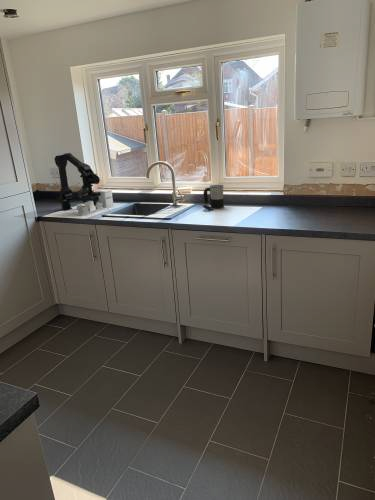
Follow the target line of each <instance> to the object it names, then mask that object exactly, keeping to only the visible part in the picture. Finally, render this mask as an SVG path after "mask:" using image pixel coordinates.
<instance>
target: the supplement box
mask: <svg viewBox="0 0 375 500" xmlns="http://www.w3.org/2000/svg"><path fill="white" fill-rule="evenodd" d="M99 191H100V192H101V195H100V197H99V198H98V202H102V204H103V207H105V208H107V209H108V208H113V207H114V200H113V199H114V198H113V190H112V189H102V190H99Z"/></svg>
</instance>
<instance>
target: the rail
mask: <svg viewBox="0 0 375 500" xmlns="http://www.w3.org/2000/svg"><path fill="white" fill-rule="evenodd" d="M95 207H96V210H93V211H89V209H88V206H85V205H84V206H80V207H78V210H77V211H78V212H76V216H81V217H82V216H86V215H90V214H93V213H96V212H101V211H103V210H106V209H105V207H103V204H102V202H99V201H97V203H96V206H95Z"/></svg>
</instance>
